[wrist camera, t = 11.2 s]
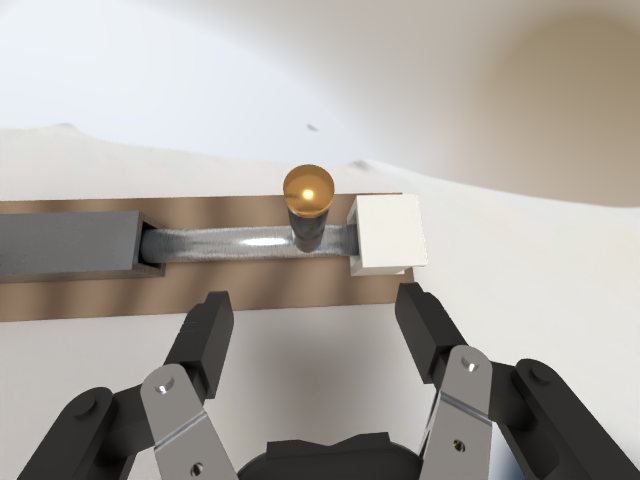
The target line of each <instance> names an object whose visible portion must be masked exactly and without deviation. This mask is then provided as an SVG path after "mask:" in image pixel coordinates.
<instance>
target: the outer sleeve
mask: <svg viewBox="0 0 640 480" xmlns="http://www.w3.org/2000/svg"><path fill="white" fill-rule="evenodd" d="M154 229H169V228H167V227H166V226H164V225H162V224H161V223H159V222H157V221H156V220H154V219H152V218H151V217H149V216H147V215H146V214H144V213H142V212H141V211H101V212H59V213H17V214H0V284H9V283H34V282H60V281H85V280H110V279H136V278H161V277H165V270H166V263H137V262H138V254H139V246H140V239H141V231H142V230H154Z"/></svg>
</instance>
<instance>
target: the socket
mask: <svg viewBox="0 0 640 480" xmlns="http://www.w3.org/2000/svg"><path fill="white" fill-rule="evenodd" d="M347 224H357V230H358V242H359V253H360V256H350V269H351V276H372V275H397V274H405V273H404V270H405V269H408V268H410V267H424V266H427V265H428V260H427V253H426V247H425V240H424V234H423V227H422V220H421V214H420V207H419V200H418V194H403V195H357V196H356V198H355V200H354V203H353V205H352V207H351V209H350V212H349V214H348V216H347Z"/></svg>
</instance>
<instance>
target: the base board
mask: <svg viewBox="0 0 640 480" xmlns="http://www.w3.org/2000/svg"><path fill="white" fill-rule="evenodd" d="M357 195H403V194H402V193H366V194H334V195H333V199H332V203H331V205H330V208H329V212H328V216H327V220H326V225H330V224H347V216H348V214H349V212H350V209H351V207H352V205H353V203H354V200H355V198H356V196H357ZM101 211H141V212H142V213H144V214H146V215H147V216H149V217H151V218H152V219H154V220H156V221H157V222H159V223H161V224H162V225H164V226H166V227H167V228H169V229H189V228H224V227H259V226H291V225H290V219H289V214H288V208H287V204H286V202H285V197H284V195H272V196H225V197H178V198H131V199H84V200H37V201H0V214H17V213H59V212H101ZM404 273H405V274H397V275H372V276H351V269H350V256H333V257H305V258H277V259H249V260H222V261H194V262H166V270H165V277H161V278H136V279H110V280H85V281H60V282H34V283H9V284H0V322H6V321H27V320H48V319H69V318H90V317H111V316H132V315H153V314H173V313H188V312H189V311H190V310H191V309H192V308H193V307H194V306H195V305H196V304H198V303H204V302H205V300H206V298H207V295H208V293H209V292H210V291H228V293H229V297H230V302H231V306H232V311H236V310H257V309H278V308H299V307H320V306H341V305H362V304H383V303H396V299H397V293H398V288H399V284H400V283H403V282H414V276H413V268H412V267H410V268H408V269H405V270H404Z"/></svg>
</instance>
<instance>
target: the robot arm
mask: <svg viewBox="0 0 640 480" xmlns="http://www.w3.org/2000/svg"><path fill="white" fill-rule="evenodd" d="M395 315H396V319H397V322H398V324H399V326H400V329H401V331H402V333H403V336H404V338H405V340H406V343H407V345H408V348H409V350H410V352H411V355H412V357H413V359H414V362H415V364H416V366H417V369H418V371H419V374H420V376H421V378H422V381H423V383H424V384H432V383H433V384H434V386H435V388H436V392H435V395H434V399H433V403H432V406H431V410H430V413H429V417H428V421H427V424H426V428H425V432H424V435H423V438H422V441H421V444H420V447H419V451H418V454H416V453H414V452H413V451H411V450H410V449H408V448H406V447H404V446H402V445H399V444H397V443H394V442H390V439H389V435H388V432H381V433H369V434H359V435H356V436H354V437H351V438H349V439H346V440H344V441H342V442H339V443H337V444H334V445H332V446H324V445H320V444H315V443H311V442H306V441H302V440H287V441H275V442H267V452H266V453H263V454H261V455H259V456H257V457H256V458H254V459H253V460H251V461H250V462H248V463H247V464H246V465H245V466H244V467H243V468H242V469H241V470H240V471H239V472H238V473H237V474H236V472H235V470H234V468H233V466H232V464H231V462H230V460H229V458H228V456H227V454H226V452H225V450H224V448H223V446H222V444H221V442H220V439H219V437H218V435H217V433H216V431H215V429H214V427H213V425H212V423H211V421H210V419H209V417H208V415H207V413H206V412H205V410H204V408H203V405H204V402H205V399H215V395H216V391H217V387H218V383H219V380H220V376H221V372H222V368H223V364H224V361H225V357H226V353H227V349H228V345H229V342H230V338H231V334H232V330H233V325H234V315H233V311H232V306H231V302H230V297H229V293H228V291H210V292H209V293H208V295H207V298H206V300H205V302H204V303H198V304H196V305H195V306H194V307H193V308H192V309H191V310H190V311H189V312H188V314H187V316H186V318H185V321H184V324H183V325H182V327H181V329H180V333H178V335H177V337H176V339H175V342H174V344H173V346H172V348H171V350H170V352H169V354H168V356H167V358H166V360H165V362H164V364H163V366H162V367H160V368H158V369H156V370H155V371H153V372H152V373H151V374H150V375H149V376H148V377H147V378H146V379H145V381H144V382H143V383H142V384H140V385H137V386H135V387H132V388H129V389H126V390H123V391H120V392H117V393H115V394H113V393H112V392H111V391H110V390H109V389H108V388H106V387H97V388H93V389H90V390H87V391H85V392H83V393H81V394H80V395H78V396H77V397H75V398H74V399H73V400H72V401H71V402H69V403H68V404H67V405H66V407H65V408H64V409H63V410H62V412H61V413H60V415H59V416H58V418H57V419H56V421H55V422H54V424H53V425H52V427H51V428H50V430H49V431H48V433H47V434H46V436H45V437H44V439H43V440H42V442H41V443H40V445H39V446H38V448H37V449H36V451H35V452H34V454H33V456H32V457H31V459H30V460H29V462H28V463H27V465H26V466H25V468H24V469H23V471H22V472H21V474H20V475H19V477H18V478H17V480H127V478H128V476H129V473H130V471H131V468H132V465H133V463H134V460H135V457H136V455H137V453H138V452H140V451H142V450H145V449H147V448H149V447H152V446H154V445H156V447H155V448H154V452H155V457H156V460H157V464H158V467H159V471H160V474H161V478H162V480H488V473H489V461H490V449H491V437H492V421H493V422H496V423H497V425H498V427H499V428H500V430H501V432H502V434H503V436H504V438H505V440H506V442H507V443H508V445H509V447H510V449H511V451H512V453H513V455H514V457H515V458H516V460H517V462H518V464H519V466H520V468H521V470H522V472H523V473H524V475H525V477H526V479H527V480H640V471H639V470H638V469H637V468H636V467H635V465H634V464H633V463H632V462H631V461H630V459H629V458H628V457H627V456H626V455H625V453H624V452H623V451H622V450H621V449H620V447H619V446H618V445H617V444H616V443H615V442H614V440H613V439H612V438H611V437H610V436H609V434H608V433H607V432H606V431H605V430H604V428H603V427H602V426H601V425H600V424H599V422H598V421H597V420H596V419H595V418H594V416H593V415H592V414H591V413H590V412H589V410H588V409H587V408H586V407H585V406H584V404H583V403H582V402H581V401H580V400H579V398H578V397H577V396H576V395H575V394H574V392H573V391H572V390H571V389H570V388H569V386H568V385H567V384H566V383H565V382H564V380H563V379H562V378H561V377H560V376H559V375H558V374H557V373H556V372H555V371H554V370H553V369H552V368H550V367H549V366H547V365H546V364H544V363H542V362H540V361H537V360H534V359H521V360H520V361H518V363H517V364H516V366H511V365H506V364H502V363H497V362H493V361H490V360H489V359H488V358H487V357H486V356H485V355H484V354H483V353H482V352H481V351H479V350H477V349H476V348H473V347H471V346H469V345H468V344H467V343H466V341H465V339H464V338H463V336H462V335H461V333H460V332H459V330H458V329H457V327H456V326H455V324H454V323H453V321H452V320H451V318H449V315H448V314H447V312H446V311H445V310H444V307H443V306H442V304H441V303H440V301H439V300H438V299H437V298H436V297H434V296H433V295H432V294H431V293H429V292H423V290H422V288H421V287H420V285H419V284H418V283H417V282H403V283H400V284H399V288H398V293H397V299H396V304H395Z"/></svg>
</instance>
